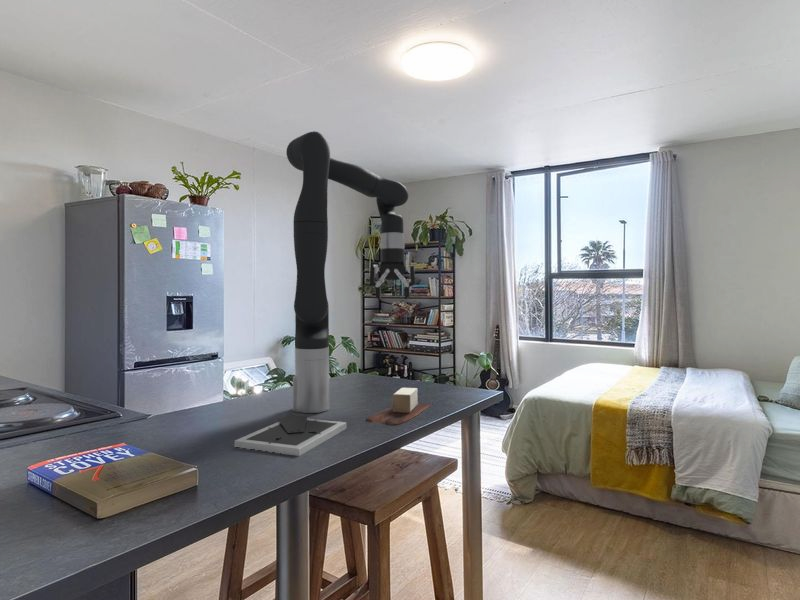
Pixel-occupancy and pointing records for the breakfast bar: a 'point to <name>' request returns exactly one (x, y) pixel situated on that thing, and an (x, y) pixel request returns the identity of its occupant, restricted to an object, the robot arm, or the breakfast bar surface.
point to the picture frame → (291, 435)
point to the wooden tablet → (397, 415)
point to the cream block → (405, 400)
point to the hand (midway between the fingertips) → (392, 299)
